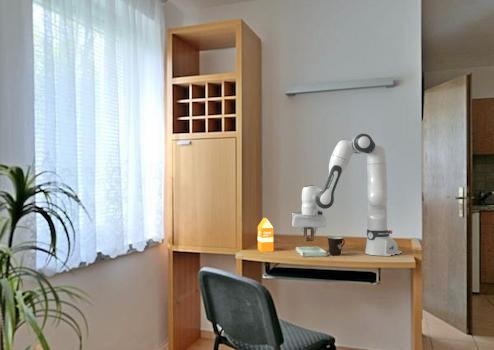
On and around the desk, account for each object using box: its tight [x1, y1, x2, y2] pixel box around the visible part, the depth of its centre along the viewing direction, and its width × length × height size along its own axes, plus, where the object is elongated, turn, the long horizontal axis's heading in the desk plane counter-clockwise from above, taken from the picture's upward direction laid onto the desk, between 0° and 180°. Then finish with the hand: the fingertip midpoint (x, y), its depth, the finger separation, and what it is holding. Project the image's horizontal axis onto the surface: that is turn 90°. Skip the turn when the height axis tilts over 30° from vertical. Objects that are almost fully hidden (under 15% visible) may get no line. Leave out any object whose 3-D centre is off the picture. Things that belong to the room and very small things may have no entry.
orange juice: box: [257, 217, 274, 253], centre depth 262 cm, size 8×9×20 cm
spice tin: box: [303, 227, 315, 242], centre depth 255 cm, size 5×5×8 cm
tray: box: [295, 246, 328, 258], centre depth 251 cm, size 14×19×2 cm
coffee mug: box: [327, 236, 346, 257], centre depth 247 cm, size 12×9×10 cm
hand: (308, 234), depth 255 cm, fingers closed on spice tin, 5 cm apart
